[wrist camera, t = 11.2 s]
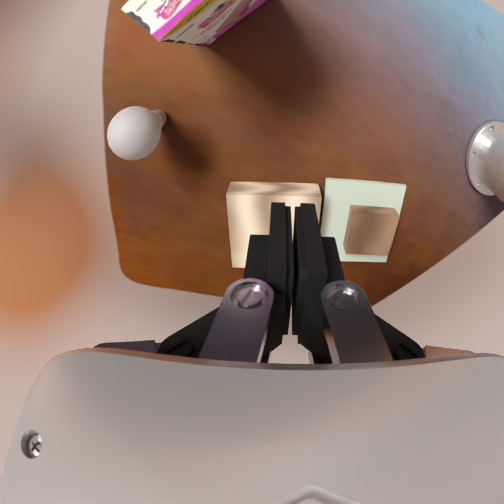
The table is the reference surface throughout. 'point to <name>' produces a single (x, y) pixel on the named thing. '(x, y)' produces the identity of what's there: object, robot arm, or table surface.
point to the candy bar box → (189, 18)
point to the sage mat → (355, 193)
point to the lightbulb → (135, 132)
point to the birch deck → (261, 210)
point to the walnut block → (370, 230)
